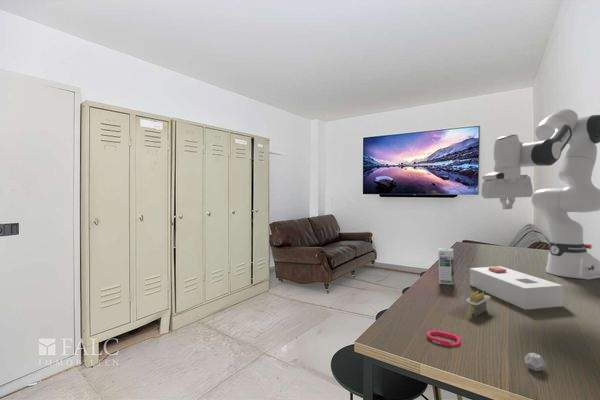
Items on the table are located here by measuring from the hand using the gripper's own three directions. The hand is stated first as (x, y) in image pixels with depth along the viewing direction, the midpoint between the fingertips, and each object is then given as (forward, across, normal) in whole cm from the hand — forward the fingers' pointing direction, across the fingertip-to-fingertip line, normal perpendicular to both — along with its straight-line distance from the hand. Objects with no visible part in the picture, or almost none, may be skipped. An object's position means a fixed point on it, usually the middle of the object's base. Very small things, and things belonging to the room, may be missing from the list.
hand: (507, 209), depth 119 cm
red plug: (+29, +8, +3) cm, 30 cm away
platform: (+32, +31, +22) cm, 49 cm away
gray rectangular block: (+30, +8, +16) cm, 35 cm away
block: (+31, +8, +10) cm, 34 cm away
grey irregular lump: (+32, +40, +51) cm, 72 cm away
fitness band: (+32, +52, +36) cm, 71 cm away
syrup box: (+31, +22, -8) cm, 39 cm away
